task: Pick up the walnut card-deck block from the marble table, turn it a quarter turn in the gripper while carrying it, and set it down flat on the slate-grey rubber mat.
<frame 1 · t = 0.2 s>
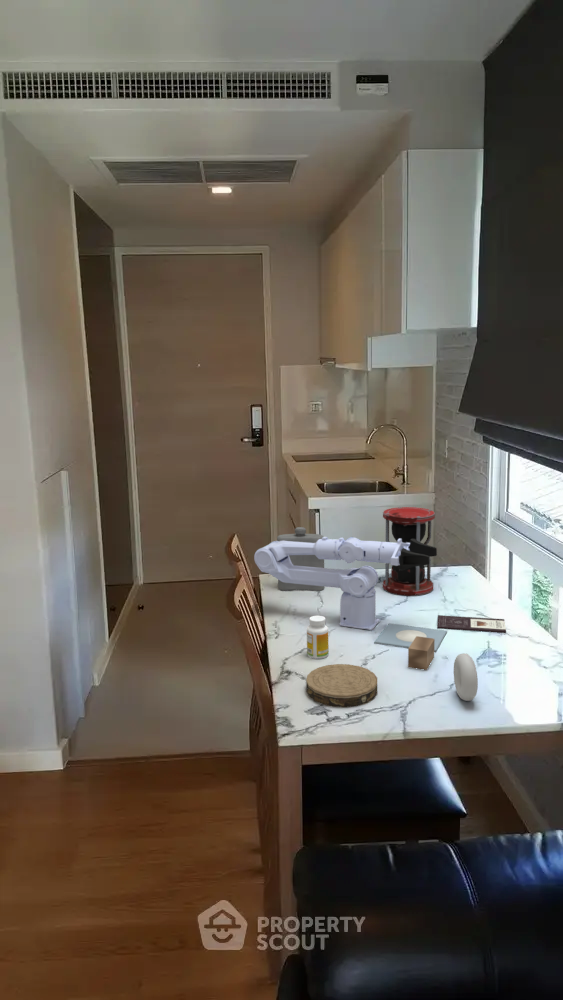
hand: (432, 556, 185), 22 cm above the table, tool horizontal, fingers open, 7 cm apart
chocolate bar: (470, 626, 195), on the table
flask: (301, 588, 230), on the table
walnut block: (421, 662, 172), on the table
donut: (464, 699, 154), on the table
hourglass: (407, 588, 227), on the table
supplement bottle: (317, 655, 178), on the table
rubber mat: (411, 637, 187), on the table
wooden log slice: (341, 692, 159), on the table
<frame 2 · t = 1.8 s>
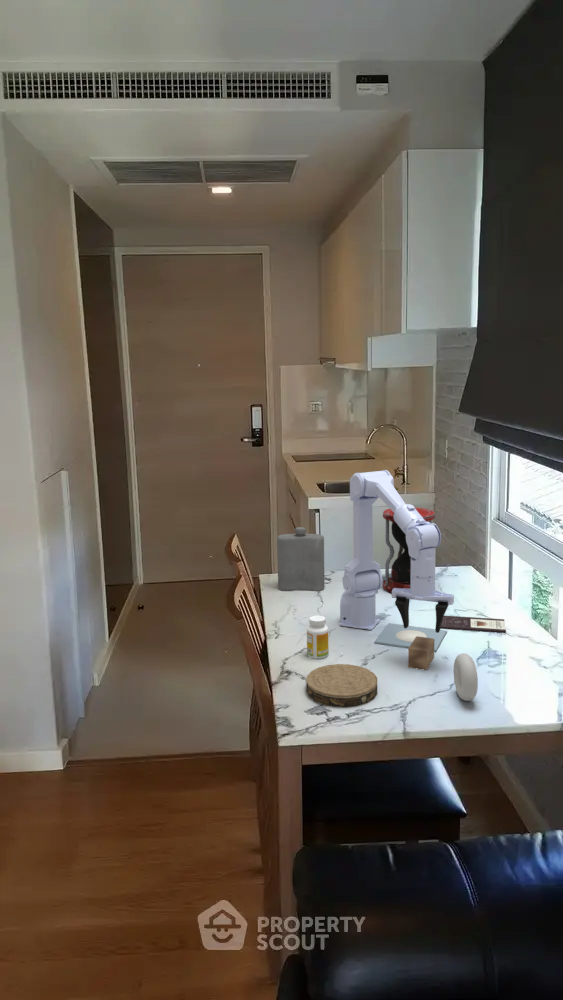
hand: (421, 629, 171), 9 cm above the table, tool pointing down, fingers open, 7 cm apart
nothing on the table moved.
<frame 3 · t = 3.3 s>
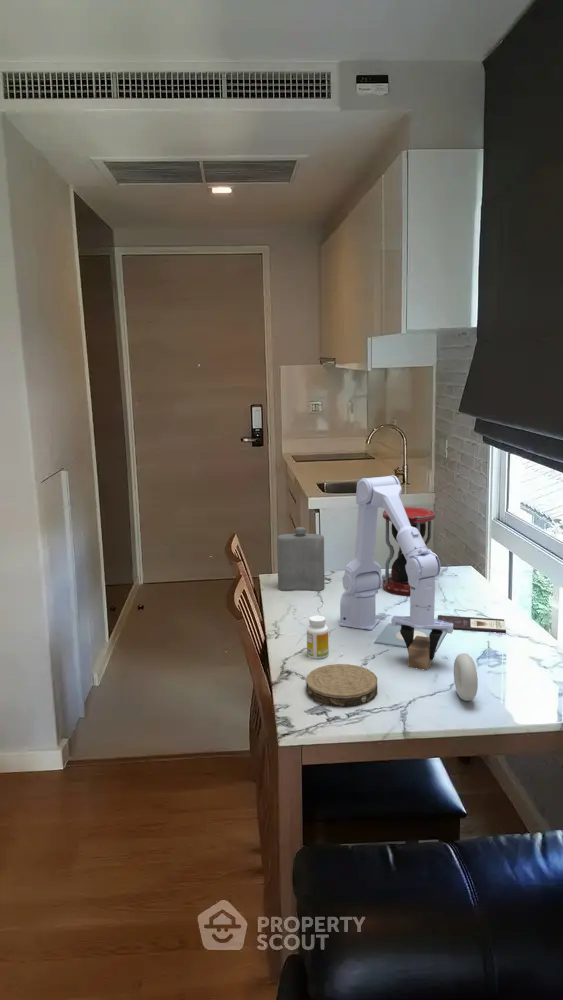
hand: (421, 656, 172), 1 cm above the table, tool pointing down, fingers closed on walnut block, 4 cm apart
walnut block: (421, 662, 172), on the table, touching gripper
everything else where it was.
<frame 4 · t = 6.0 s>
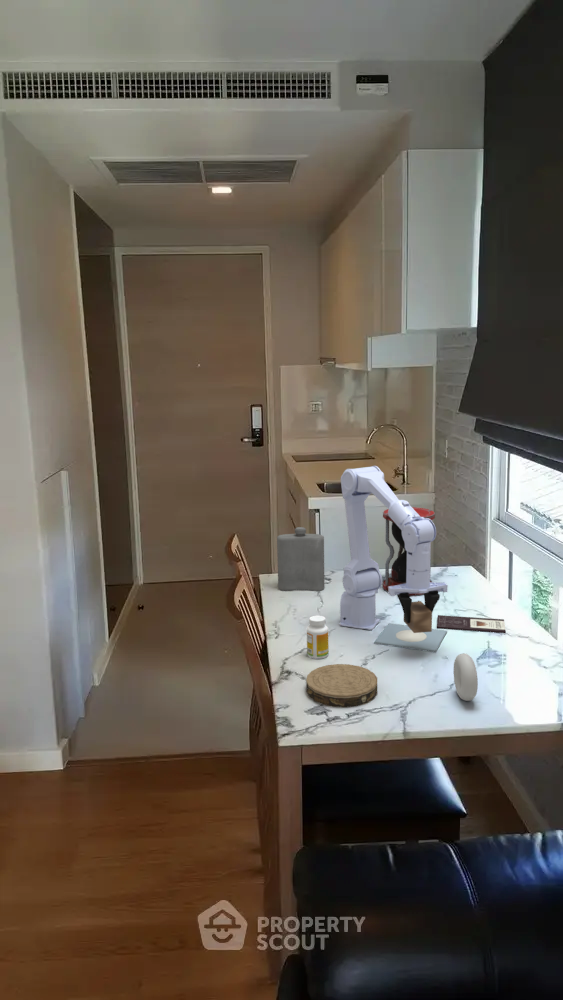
hand: (417, 620, 176), 8 cm above the table, tool pointing down, fingers closed on walnut block, 4 cm apart
walnut block: (417, 626, 177), point 7 cm above the table, touching gripper
everything else where it was.
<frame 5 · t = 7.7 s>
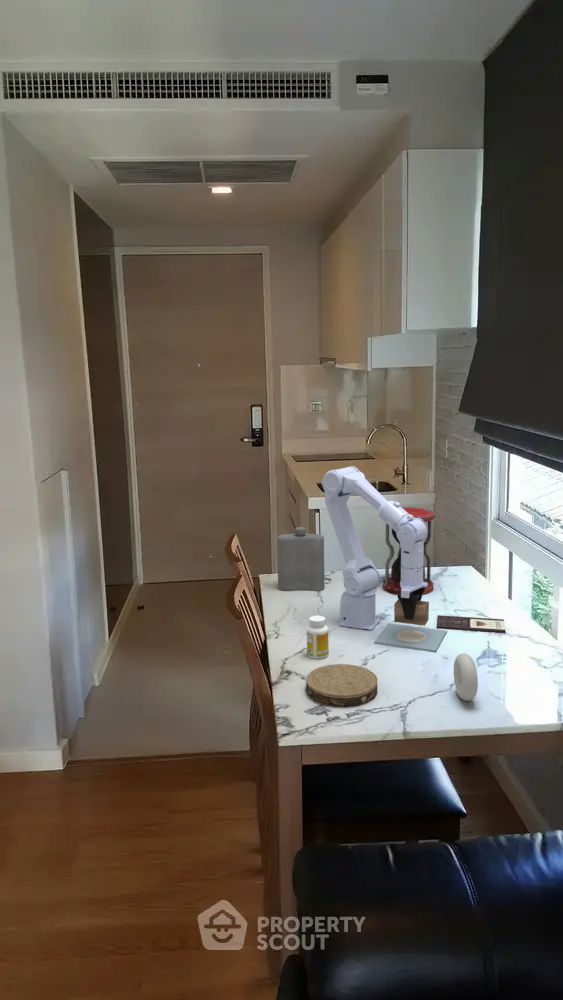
hand: (411, 615, 186), 6 cm above the table, tool pointing down, fingers closed on walnut block, 4 cm apart
walnut block: (411, 620, 186), point 5 cm above the table, touching gripper
everything else where it was.
when the fingers open (3 cm above the table, at t = 9.2 s): walnut block stays where it is, resting on rubber mat.
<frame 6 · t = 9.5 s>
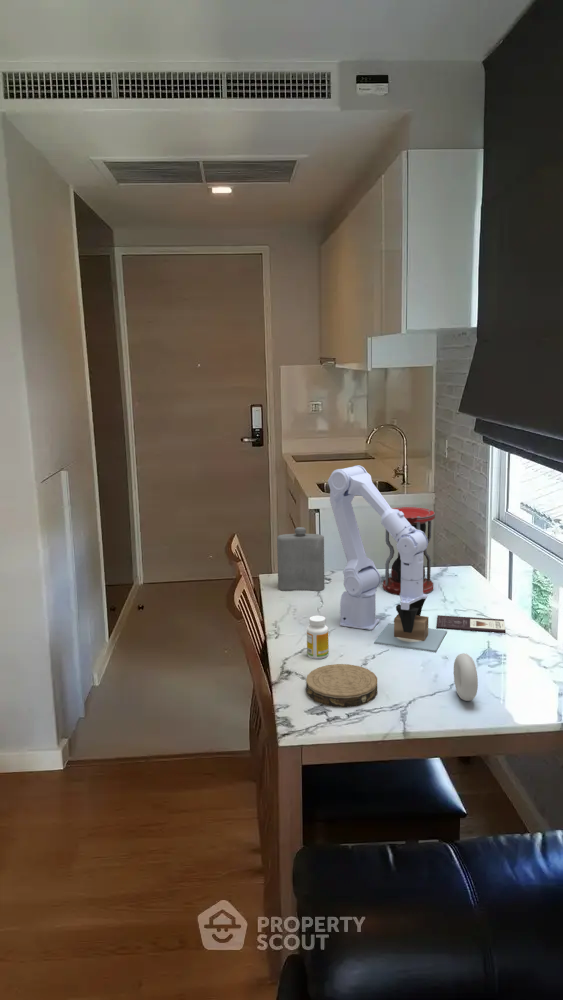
hand: (411, 627, 187), 3 cm above the table, tool pointing down, fingers open, 7 cm apart
walnut block: (411, 635, 187), point 1 cm above the table, touching rubber mat
everything else where it was.
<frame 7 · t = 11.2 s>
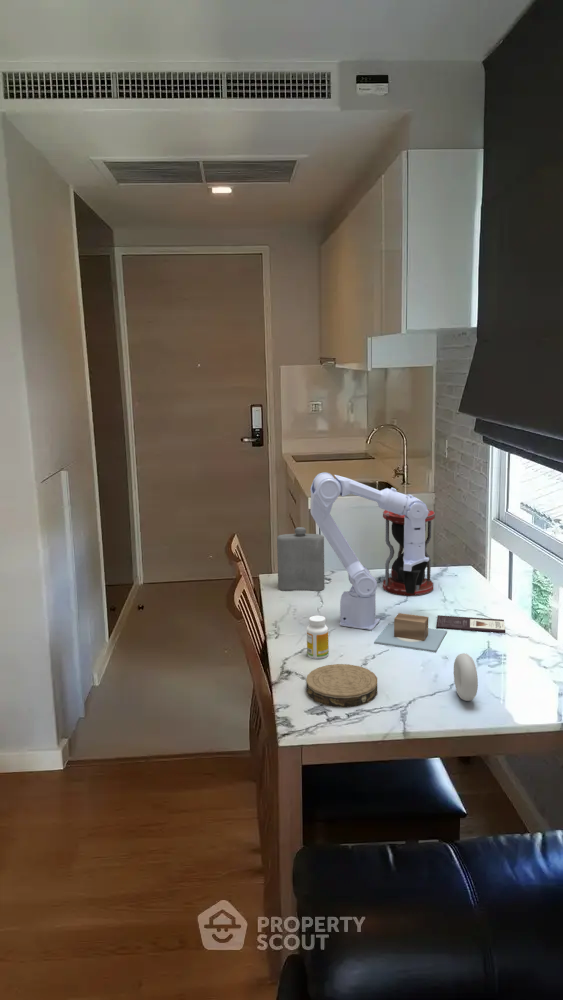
hand: (413, 589, 197), 9 cm above the table, tool pointing down, fingers open, 7 cm apart
nothing on the table moved.
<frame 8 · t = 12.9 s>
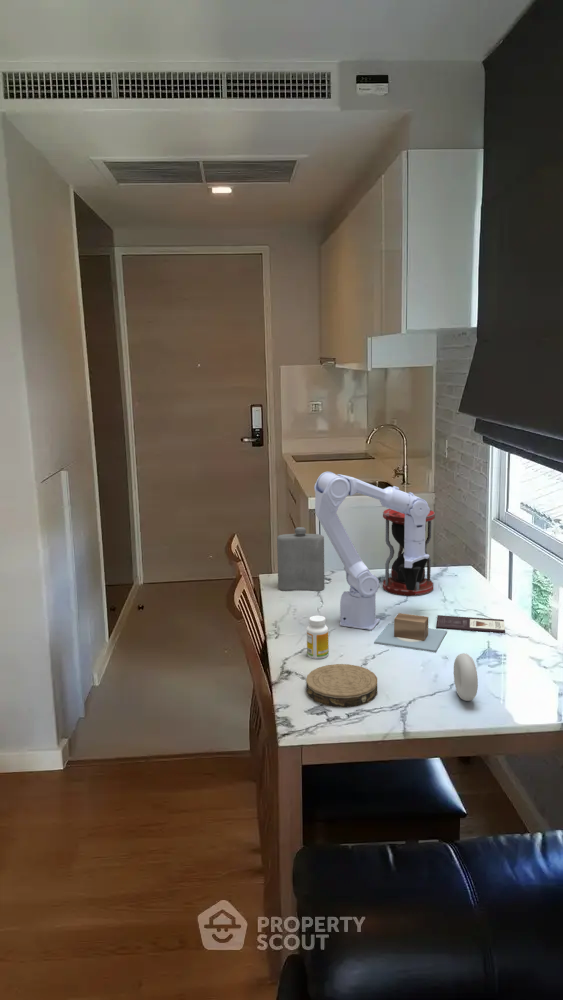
hand: (414, 585, 200), 9 cm above the table, tool pointing down, fingers open, 7 cm apart
nothing on the table moved.
at the end: walnut block inside the target area on the rubber mat (0.0 cm from its centre), point 0.6 cm above the rubber mat's base; walnut block tilted 0°; the gripper is holding nothing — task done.
